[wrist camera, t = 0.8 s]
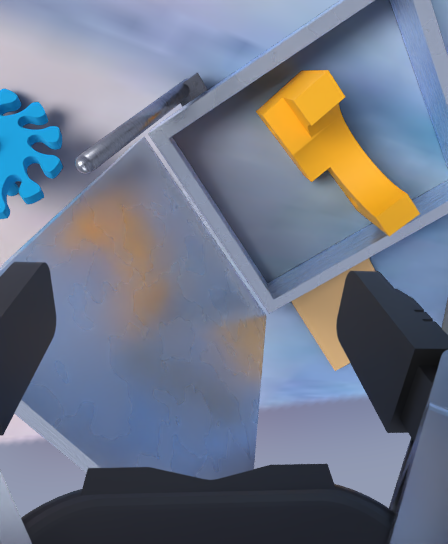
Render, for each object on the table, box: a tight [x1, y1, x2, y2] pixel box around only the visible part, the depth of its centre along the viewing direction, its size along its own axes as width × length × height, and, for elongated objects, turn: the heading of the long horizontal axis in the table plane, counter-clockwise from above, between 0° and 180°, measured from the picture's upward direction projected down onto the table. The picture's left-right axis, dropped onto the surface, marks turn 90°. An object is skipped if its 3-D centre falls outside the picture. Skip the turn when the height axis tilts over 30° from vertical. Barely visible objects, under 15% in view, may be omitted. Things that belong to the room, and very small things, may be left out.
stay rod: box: [75, 78, 190, 174], centre depth 25 cm, size 8×1×10 cm, turn 122°
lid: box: [0, 137, 266, 480], centre depth 24 cm, size 20×18×1 cm
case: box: [148, 0, 448, 314], centre depth 31 cm, size 20×19×3 cm
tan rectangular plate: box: [291, 258, 375, 371], centre depth 40 cm, size 8×10×1 cm
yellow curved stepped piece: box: [256, 70, 420, 236], centre depth 30 cm, size 12×4×6 cm, turn 40°
